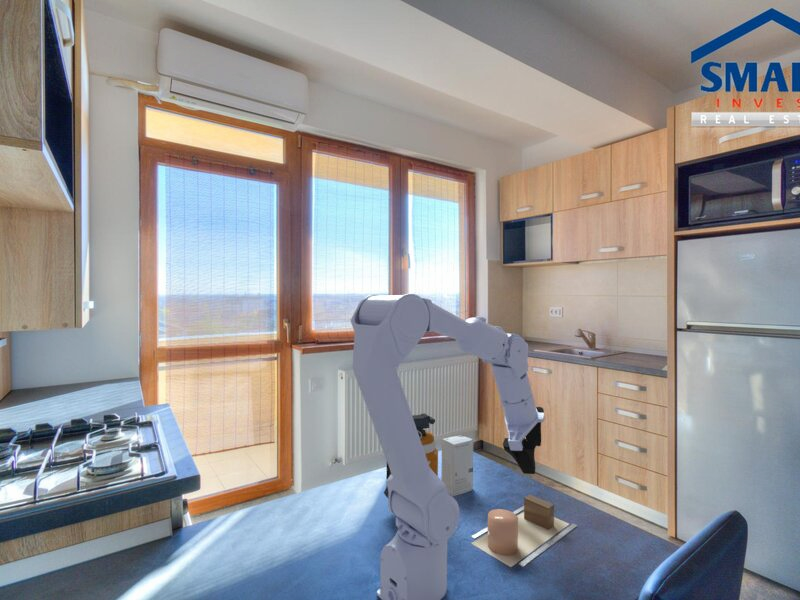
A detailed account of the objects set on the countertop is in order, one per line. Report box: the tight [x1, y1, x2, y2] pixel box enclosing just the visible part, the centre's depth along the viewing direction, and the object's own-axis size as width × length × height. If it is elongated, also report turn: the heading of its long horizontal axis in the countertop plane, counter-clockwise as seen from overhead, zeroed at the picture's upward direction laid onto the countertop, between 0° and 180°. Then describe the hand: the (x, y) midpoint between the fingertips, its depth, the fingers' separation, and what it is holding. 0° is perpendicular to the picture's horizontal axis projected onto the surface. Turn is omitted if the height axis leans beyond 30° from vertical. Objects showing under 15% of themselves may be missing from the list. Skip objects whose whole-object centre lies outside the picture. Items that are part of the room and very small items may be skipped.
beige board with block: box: [470, 494, 570, 568], centre depth 71 cm, size 19×8×5 cm, turn 130°
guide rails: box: [470, 505, 578, 568], centre depth 72 cm, size 18×10×1 cm, turn 130°
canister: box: [383, 412, 439, 499], centre depth 79 cm, size 9×11×20 cm
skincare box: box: [440, 434, 474, 497], centre depth 88 cm, size 6×4×12 cm
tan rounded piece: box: [487, 508, 518, 556], centre depth 68 cm, size 5×5×5 cm
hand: (532, 458), depth 75 cm, fingers open, 7 cm apart
